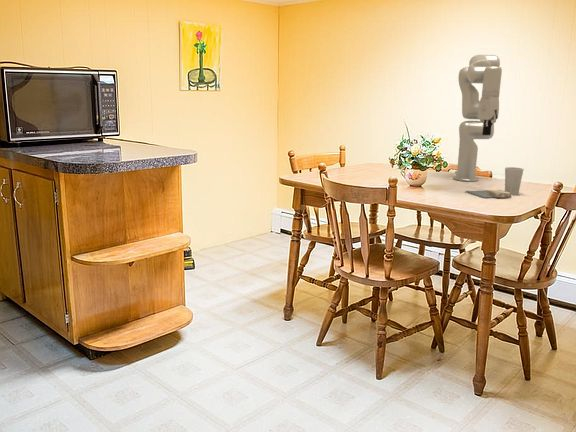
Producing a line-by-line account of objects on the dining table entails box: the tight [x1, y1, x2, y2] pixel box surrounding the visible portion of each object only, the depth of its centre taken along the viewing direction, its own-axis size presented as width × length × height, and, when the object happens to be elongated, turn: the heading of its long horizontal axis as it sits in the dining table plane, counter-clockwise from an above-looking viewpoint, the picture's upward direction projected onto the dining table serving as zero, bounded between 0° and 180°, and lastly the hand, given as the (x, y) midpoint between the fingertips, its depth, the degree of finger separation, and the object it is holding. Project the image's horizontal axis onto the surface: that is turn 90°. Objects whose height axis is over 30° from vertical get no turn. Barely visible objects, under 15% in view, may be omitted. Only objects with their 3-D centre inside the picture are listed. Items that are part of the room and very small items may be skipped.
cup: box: [504, 166, 525, 196], centre depth 250 cm, size 8×8×12 cm
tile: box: [486, 189, 512, 198], centre depth 243 cm, size 2×8×7 cm
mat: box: [465, 189, 512, 199], centre depth 248 cm, size 15×14×1 cm
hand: (486, 135), depth 247 cm, fingers closed
